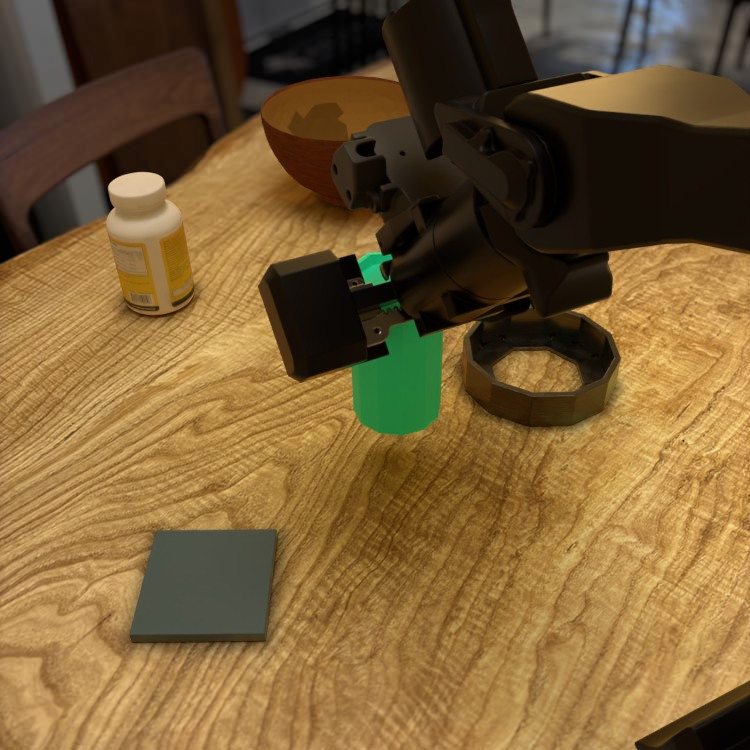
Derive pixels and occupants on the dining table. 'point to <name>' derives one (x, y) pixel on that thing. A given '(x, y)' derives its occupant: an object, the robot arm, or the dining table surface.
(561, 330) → the pan
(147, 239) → the pill bottle
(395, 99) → the bowl
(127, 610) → the dining table surface
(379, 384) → the candle
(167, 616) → the coaster
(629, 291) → the dining table surface
